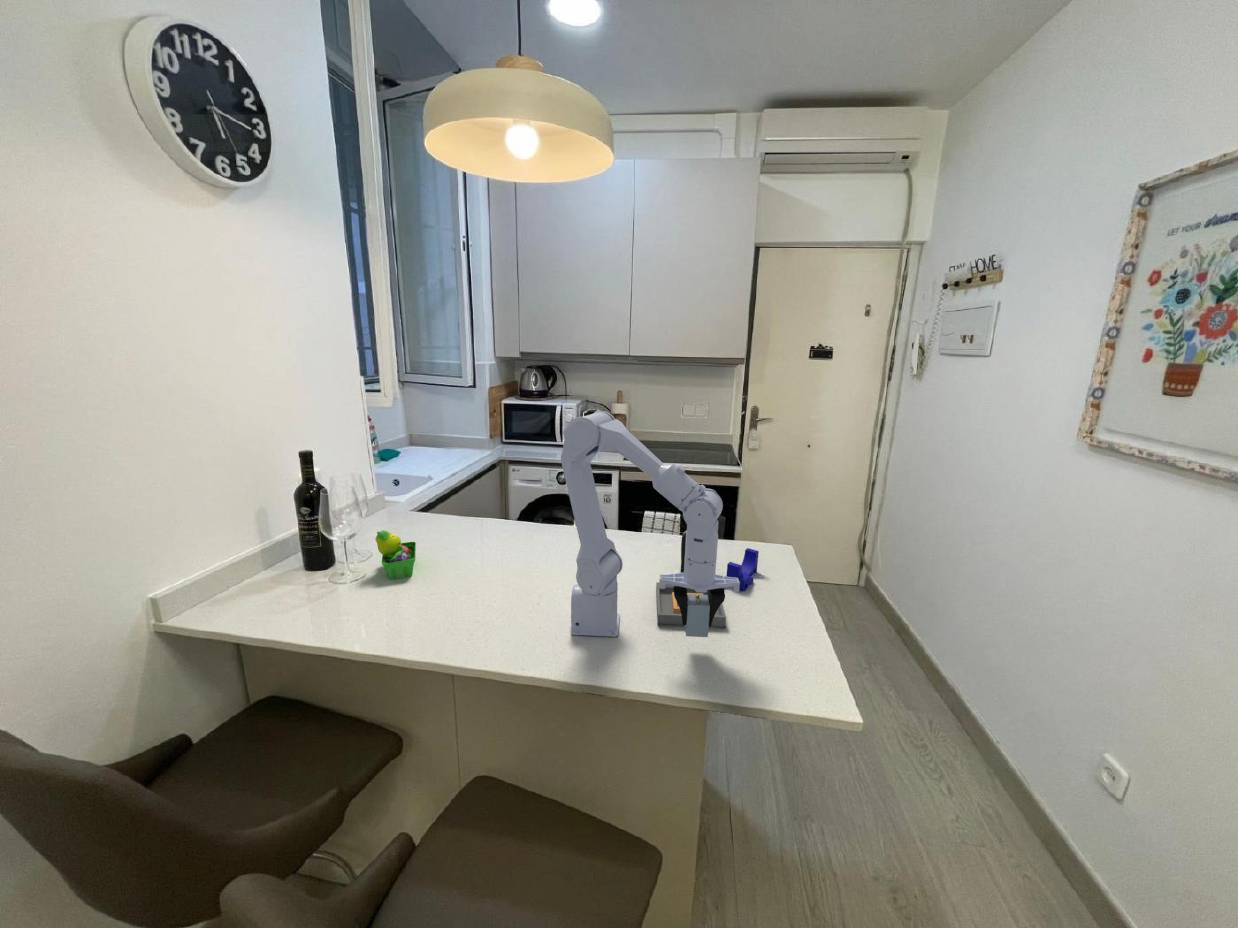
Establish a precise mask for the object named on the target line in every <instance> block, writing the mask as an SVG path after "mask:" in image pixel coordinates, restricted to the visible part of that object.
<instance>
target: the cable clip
mask: <svg viewBox="0 0 1238 928" xmlns="http://www.w3.org/2000/svg"><path fill="white" fill-rule="evenodd" d="M758 562H759V550H757V549H754V548H753V549H752V548H749V547H747V548H746V549H745V550H744V555H743V559H742V562H741V564H740V563H735V562H731V561H729V562H728V563H727V565H726V576H727V577H733V578H738V580H739V582H740V585H739V592H743V593H744V592H745V591H746V590H747V589H749V587H751V585H753V583H754V576H755V574H756V573H758Z"/></svg>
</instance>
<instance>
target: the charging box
mask: <svg viewBox="0 0 1238 928" xmlns="http://www.w3.org/2000/svg"><path fill="white" fill-rule="evenodd" d="M687 594H699V595H707V596H708V590H707V592H705V593H703V592H696V591H695V590H694V589H690V588H687ZM655 598H656V599H655V600H656V601H655V602H656V622H657V624H656V625H657V626H664V627H665V626H666V627H667V626H668V627H685V625H682V615H681V611H680V608H679V605H678V603H677V601H676V599H675V596H674V590H673V588H671V587H666V588H665V589H660V588H659V582H656V585H655ZM726 623H727V616H726V613H725V609H724V605H723V603H722V604H721V605H720V607H719V608H718V610H717V612H716V614H715V616H714V618H713V621H712V624H711V626H709V627H708V629H709V628H710V629H711V628H714V629H726V625H727V624H726Z"/></svg>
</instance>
